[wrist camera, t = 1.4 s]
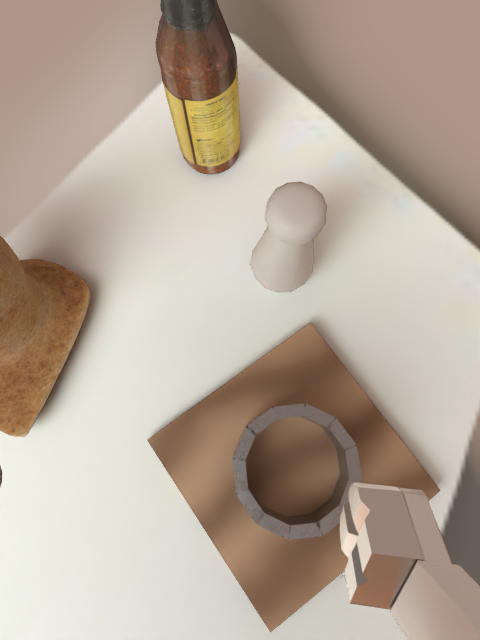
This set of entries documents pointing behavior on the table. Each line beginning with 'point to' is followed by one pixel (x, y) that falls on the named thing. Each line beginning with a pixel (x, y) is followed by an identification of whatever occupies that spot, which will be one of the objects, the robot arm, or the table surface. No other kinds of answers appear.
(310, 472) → the keeper plate
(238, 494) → the keeper collar
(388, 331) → the table surface
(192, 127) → the sauce bottle
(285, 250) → the salt shaker
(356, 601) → the robot arm
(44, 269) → the stone cup
